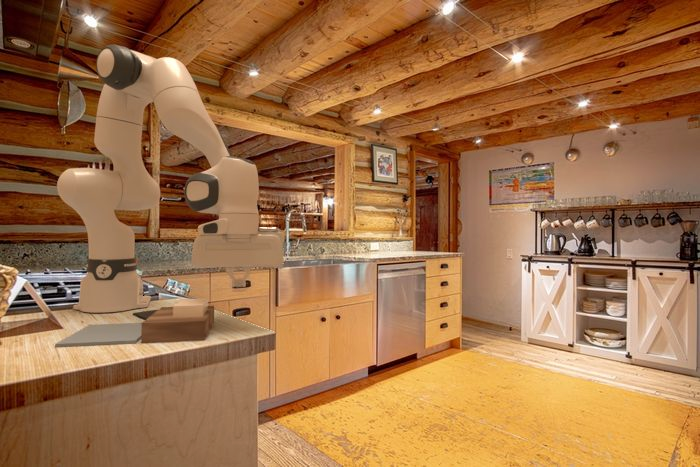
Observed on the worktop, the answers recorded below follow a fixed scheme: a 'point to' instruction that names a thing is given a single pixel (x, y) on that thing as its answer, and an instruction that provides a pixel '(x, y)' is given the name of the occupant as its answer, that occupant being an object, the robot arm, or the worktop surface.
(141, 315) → the smartphone
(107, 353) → the worktop surface
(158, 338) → the brown flat wooden block
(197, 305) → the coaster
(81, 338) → the mat
